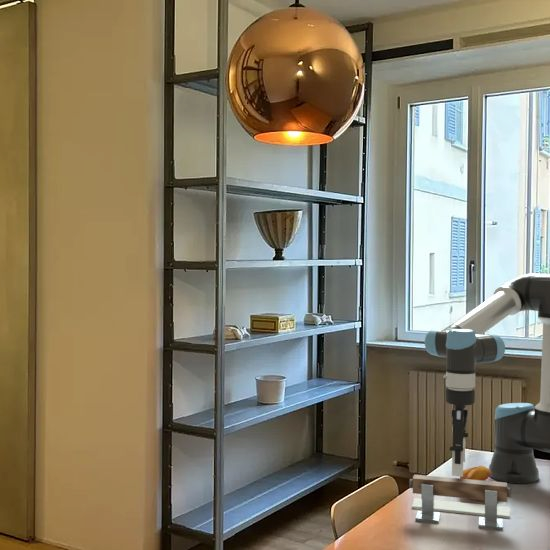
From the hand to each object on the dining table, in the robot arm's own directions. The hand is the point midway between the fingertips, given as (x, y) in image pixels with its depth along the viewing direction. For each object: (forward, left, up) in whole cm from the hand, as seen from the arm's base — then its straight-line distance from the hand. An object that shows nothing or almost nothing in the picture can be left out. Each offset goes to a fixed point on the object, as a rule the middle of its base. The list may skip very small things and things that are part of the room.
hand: (458, 468), depth 191 cm
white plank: (-7, -7, -14) cm, 18 cm away
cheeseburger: (-19, -12, -15) cm, 27 cm away
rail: (0, 0, -7) cm, 7 cm away
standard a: (+5, -6, -14) cm, 16 cm away
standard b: (-6, +6, -14) cm, 17 cm away
